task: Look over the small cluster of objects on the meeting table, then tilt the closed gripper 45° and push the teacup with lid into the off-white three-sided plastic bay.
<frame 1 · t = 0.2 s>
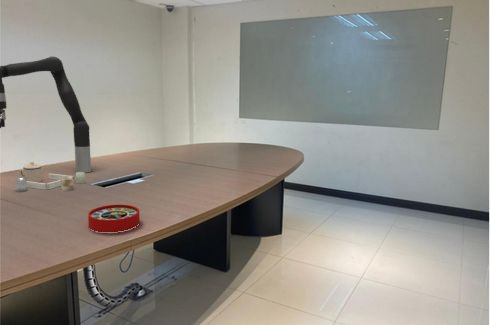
hand: (0, 127, 218), 29 cm above the table, tool pointing down, fingers open, 8 cm apart
birch block: (67, 189, 198), on the table
metal cylinder: (21, 190, 191), on the table
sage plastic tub: (80, 182, 212), on the table
toy clock: (114, 225, 150), on the table
teacup with lid: (30, 181, 210), on the table
sorting bay: (47, 183, 207), on the table
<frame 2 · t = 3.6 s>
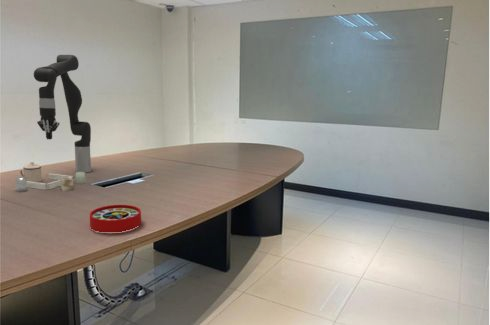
hand: (49, 139, 195), 27 cm above the table, tool pointing down, fingers closed
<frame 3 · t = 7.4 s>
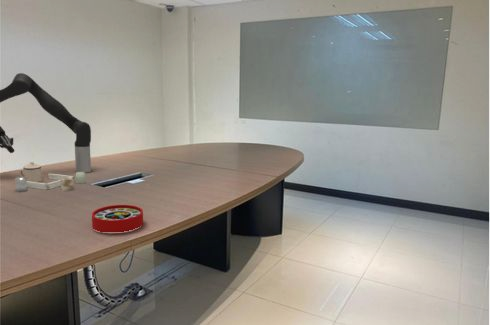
hand: (12, 152, 209), 17 cm above the table, tool tilted 45°, fingers closed
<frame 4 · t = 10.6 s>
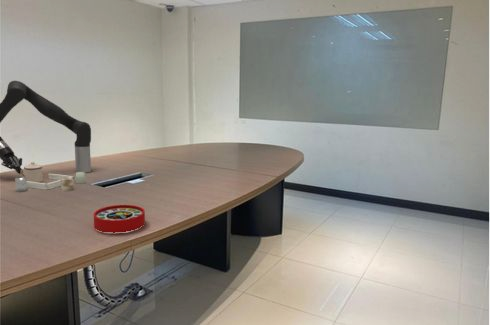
hand: (21, 172, 210), 5 cm above the table, tool tilted 45°, fingers closed
teacup with lid: (31, 181, 210), on the table, touching gripper
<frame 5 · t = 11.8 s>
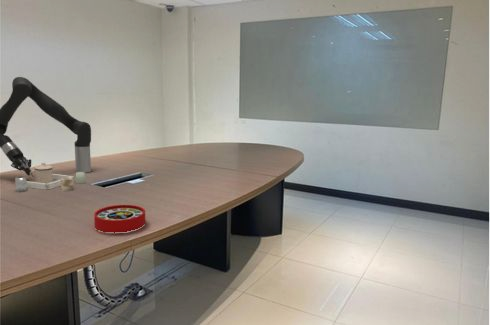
hand: (30, 174, 208), 5 cm above the table, tool tilted 45°, fingers closed
teacup with lid: (41, 182, 209), on the table, touching gripper
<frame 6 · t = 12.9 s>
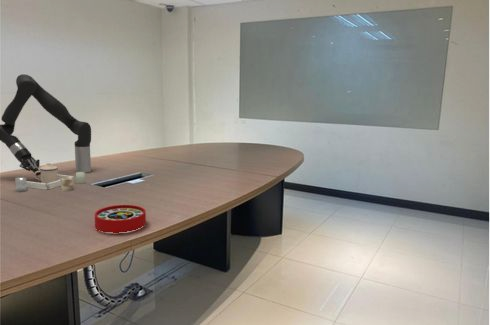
hand: (39, 174, 207), 5 cm above the table, tool tilted 45°, fingers closed
teacup with lid: (47, 183, 208), on the table
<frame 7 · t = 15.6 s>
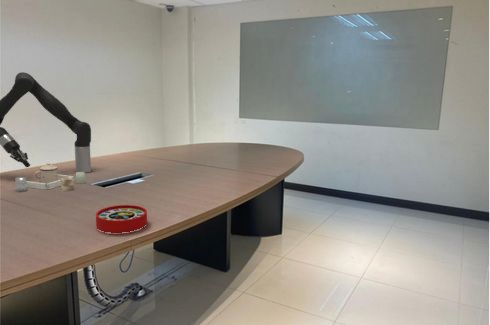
hand: (28, 166, 210), 9 cm above the table, tool tilted 45°, fingers closed
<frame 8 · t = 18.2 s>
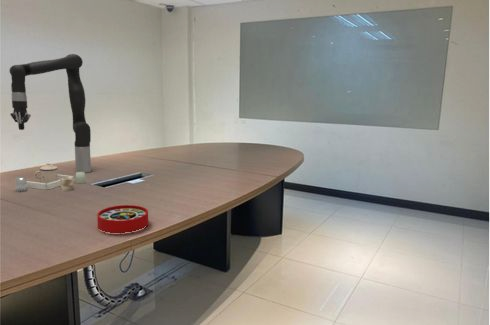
hand: (21, 129, 214), 29 cm above the table, tool pointing down, fingers closed
at the end: teacup with lid 1.6 cm from the sorting bay (horizontally); teacup with lid tilted 0°; teacup with lid moved 10.6 cm from its start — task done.
